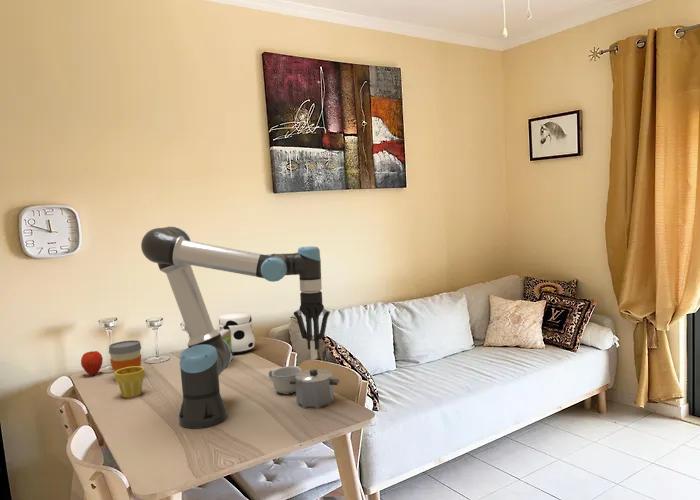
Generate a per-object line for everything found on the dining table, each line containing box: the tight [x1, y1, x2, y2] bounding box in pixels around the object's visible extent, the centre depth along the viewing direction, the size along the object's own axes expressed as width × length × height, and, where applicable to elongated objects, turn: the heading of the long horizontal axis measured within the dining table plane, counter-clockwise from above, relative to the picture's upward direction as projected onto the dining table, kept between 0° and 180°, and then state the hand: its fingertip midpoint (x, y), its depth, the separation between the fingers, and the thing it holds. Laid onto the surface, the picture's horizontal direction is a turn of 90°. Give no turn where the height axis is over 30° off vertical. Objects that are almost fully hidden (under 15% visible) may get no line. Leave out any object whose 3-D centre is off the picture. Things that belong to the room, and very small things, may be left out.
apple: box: [80, 350, 103, 376], centre depth 235 cm, size 9×8×11 cm
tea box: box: [215, 329, 233, 364], centre depth 240 cm, size 15×10×15 cm, turn 179°
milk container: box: [218, 311, 256, 355], centre depth 263 cm, size 17×17×18 cm
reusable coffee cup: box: [108, 339, 142, 374], centre depth 227 cm, size 13×13×15 cm
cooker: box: [290, 374, 340, 409], centre depth 186 cm, size 13×17×9 cm
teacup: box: [268, 365, 302, 395], centre depth 200 cm, size 14×11×8 cm
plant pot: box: [114, 366, 146, 399], centre depth 205 cm, size 10×10×10 cm
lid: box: [296, 368, 333, 383], centre depth 185 cm, size 13×13×2 cm
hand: (314, 358), depth 188 cm, fingers closed
